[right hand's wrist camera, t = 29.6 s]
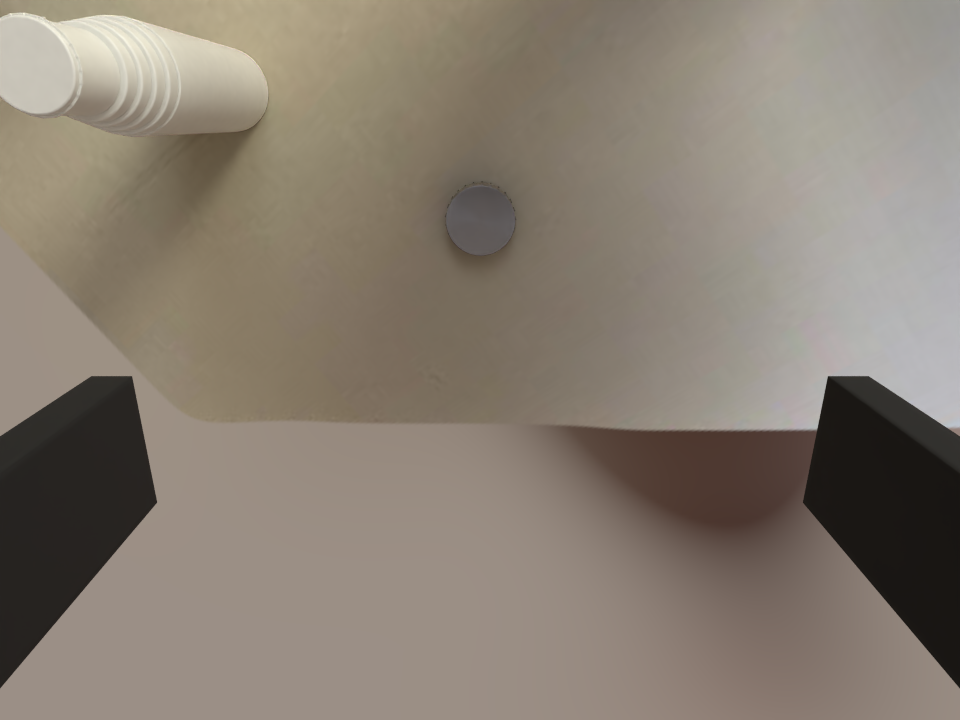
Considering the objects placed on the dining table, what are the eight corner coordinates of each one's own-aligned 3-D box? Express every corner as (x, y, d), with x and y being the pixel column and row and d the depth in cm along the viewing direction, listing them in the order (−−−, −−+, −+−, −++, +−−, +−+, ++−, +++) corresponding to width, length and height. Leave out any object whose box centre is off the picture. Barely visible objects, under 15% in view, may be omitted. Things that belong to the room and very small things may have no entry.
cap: (481, 166, 41) (481, 168, 39) (528, 216, 42) (531, 222, 40) (432, 215, 42) (430, 220, 40) (480, 263, 43) (480, 270, 41)
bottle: (272, 56, 39) (100, 3, 21) (265, 139, 40) (100, 154, 23) (191, 38, 39) (-51, -30, 21) (187, 122, 40) (-41, 125, 23)
